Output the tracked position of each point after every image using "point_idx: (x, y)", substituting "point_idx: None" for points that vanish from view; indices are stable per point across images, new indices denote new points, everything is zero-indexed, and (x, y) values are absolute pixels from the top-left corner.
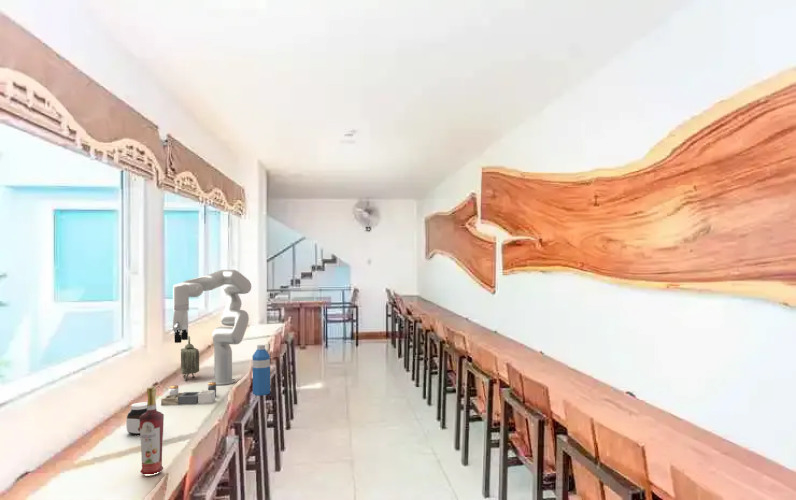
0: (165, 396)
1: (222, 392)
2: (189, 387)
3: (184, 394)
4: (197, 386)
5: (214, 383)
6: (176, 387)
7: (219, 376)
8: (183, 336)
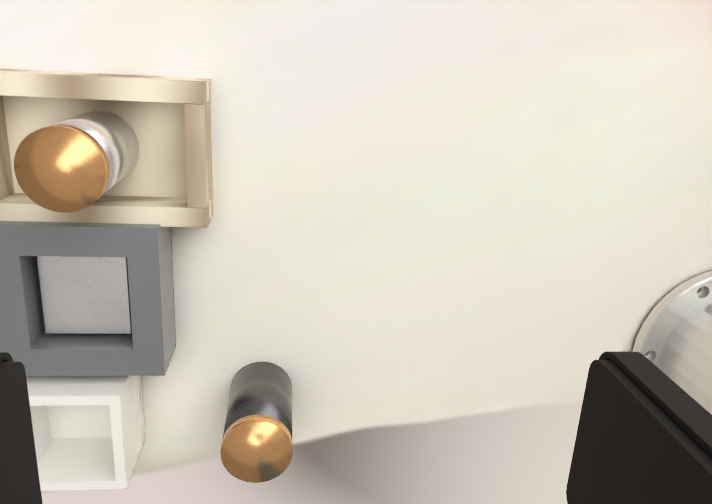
0: (56, 81)
1: (389, 422)
2: (626, 117)
3: (73, 256)
4: (646, 177)
5: (236, 476)
6: (41, 202)
7: (695, 368)
8: (635, 473)
